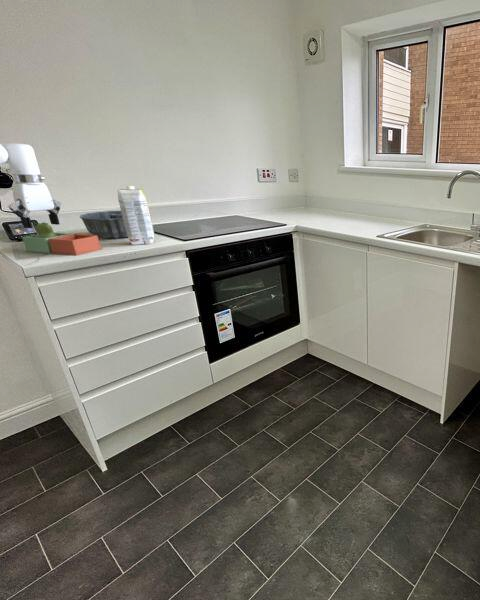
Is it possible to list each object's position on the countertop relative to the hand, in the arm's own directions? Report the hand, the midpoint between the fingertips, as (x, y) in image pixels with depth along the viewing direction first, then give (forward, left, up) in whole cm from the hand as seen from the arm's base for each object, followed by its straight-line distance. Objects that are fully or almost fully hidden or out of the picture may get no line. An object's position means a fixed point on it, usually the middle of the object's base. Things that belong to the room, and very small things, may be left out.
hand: (42, 226), depth 136 cm
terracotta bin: (+1, -12, -9) cm, 15 cm away
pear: (0, 0, -9) cm, 9 cm away
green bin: (+1, 0, -9) cm, 9 cm away
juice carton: (+20, -23, -10) cm, 32 cm away
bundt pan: (+32, -1, -10) cm, 33 cm away
